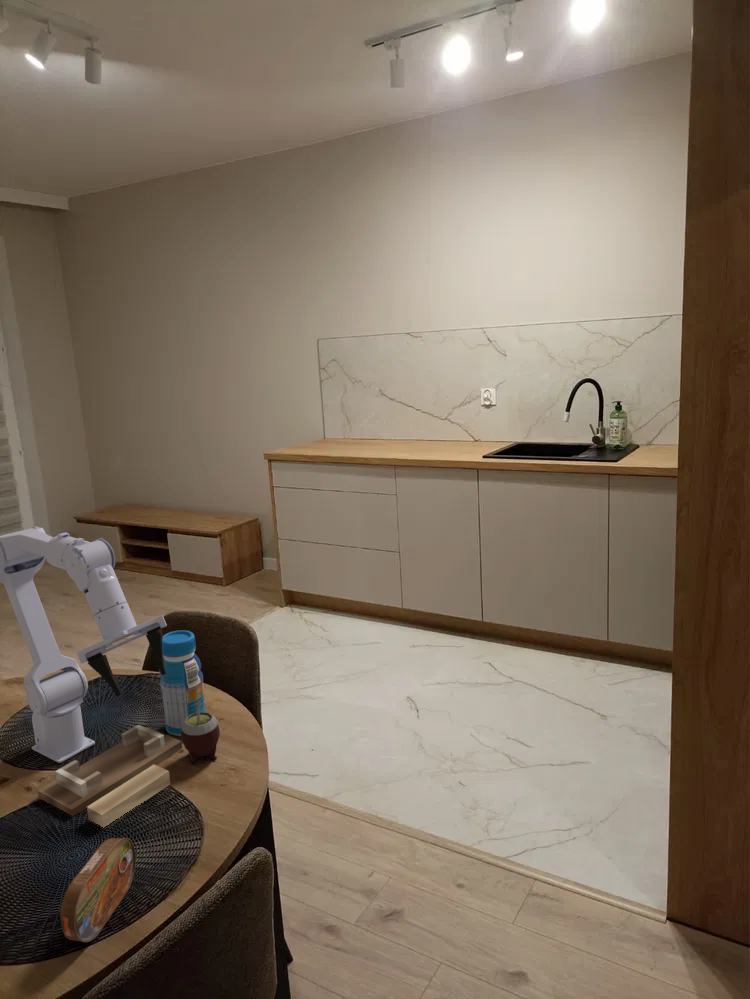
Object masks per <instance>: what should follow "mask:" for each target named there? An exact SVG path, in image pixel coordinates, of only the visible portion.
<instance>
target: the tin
mask: <svg viewBox="0 0 750 999" xmlns="http://www.w3.org/2000/svg"><path fill="white" fill-rule="evenodd" d="M136 855H137V854H136V847H135V845H134V843H133V840H132V839H130V838H127V837H122V838H119V837H117V838H116V837H114V838H113V837H111V838H108V839H106V840H104V841H103V842H101V844H100V845H99V847H98V848H97V849H96V850H95V852H94V853H93V854H92V855H91V856H90V858H89V859H88V860H87V861H86V863H85V864H84V866H82V868H81V870H79V871H78V873H77V874H76V875H75V877H74V878H73V879H72V880H71V882H70V883H69V885H68V887H67V888H66V891H65V892H64V896H63V898H62V902H61V906H60V913H59V916H60V923H61V924H60V925H61V930H62V932H63V935H64V937H65V938H66V939H68V940H71V941H78V942H82V943H90V942H92V941H93V940H95V939H96V938H97V937H98V936H99V934H100V933H101V931H102V930H103V929H104V926H105V925H106V924H107V922H108V921H109V919H110V918H111V916H112V915H113V914H114V912H115V911H116V909H117V907H118V906H119V905H120V903H121V902H122V900H123V899H124V897H125V896H126V895H127V893H128V892H129V889H130V887H131V885H132V882H133V880H134V876H135V871H136V866H137V865H136V862H137V856H136Z"/></svg>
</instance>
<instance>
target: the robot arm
mask: <svg viewBox="0 0 750 999" xmlns="http://www.w3.org/2000/svg"><path fill="white" fill-rule="evenodd" d="M115 555H116V554H115V551H114V548H113V547H112V546H111V544H110V542H108V541H107V540H106V539H104V538H101V537H100V538H97V539H95V540H94V541H91V542H90V541H87V540H85V539H84V538H81V537H78V538H77V537H73V536H70V533H68V532H61V533H58V534H57V535H56V536H51V535H49V534H46V531H45V529H44V528H43V527H39V526H32V527H31V528H28V529H27V528H26V529H23V530H22V529H21V530H18V531H15V532H10V533H6V534H2V535H0V584H3V585H4V589H5V590H6V593H7V596H8V600H10V604H11V606H12V609H13V612H14V614H15V617H16V620H17V624H18V625H19V628H20V630H21V631H20V632H21V634H22V637H23V639H24V642H25V644H26V647H27V650H28V652H29V655H30V658H31V660H32V666H31V667H30V669H29V671H28V672H27V674H26V675H25V677H24V678H23V685H24V689H25V697H26V700H27V701H26V702H27V704H28V706H29V708H30V710H31V711H32V716H31V722H32V728H33V734H34V741H35V742H34V743H35V744H34V745H33V746H31V750H33V751H34V752H37V753H38V754H40V755H43V756H44V757H46V758H48V759H50V760H52V761H54V762H56V763H58V764H60V763H63V762H65V761H66V760H68V759H70V758H72V757H74V756H75V755H78V754H79V753H81V752H83V751H84V750H86V749H88V748H90V747H92V746H94V745H95V744H96V742H95V740H93V739H91V738H89V737H87V736H85V731H84V725H83V724H84V723H83V717H82V711H81V704H82V703H84V697H86V695H87V693H88V689H89V685H88V684H89V683H88V680H87V677H86V675H85V672H83V670H82V669H81V667H80V666H79V664H78V663H79V662H80V664H85V663H86V662H87V664H88V665H89V666H90V667H91V668H92V669H93V670H94V671H96V672H97V673H98V674H99V675H100V677H101V678H103V679H104V681H105V682H106V683H107V684H108V686H110V688H111V690H112V691H113V693H114V694H115V697H119V696H120V695H122V691H121V687H120V686H119V684H118V682H117V680H116V678H115V676H114V674H113V671H112V669H111V666H110V663H109V660H108V657H107V654H106V653H108V652H111V651H113V650H115V649H117V648H120V647H122V646H124V645H126V644H128V643H131V642H133V641H135V640H138V639H140V638H143V637H146V639H147V641H148V643H149V646H150V648H151V650H152V653H153V654H154V657H155V659H156V663H157V664H156V665H157V666H158V669H159V670H160V672H161V674H162V675H164V674H166V670H165V666H164V661H163V658H164V656H163V652H162V636H163V635H164V634H163V630H162V629H163V628H165V627H167V626H168V624H167V623H166V619H165V618H164V615H162V614H161V615H159V616H157V617H154V618H152V619H149V620H148V621H145V622H143V623H139V624H137V622H136V620H135V617H134V615H133V613H132V610H131V609H130V606H129V603H128V601H127V598H126V596H125V593H124V592H123V589H122V587H121V584H120V582H119V579H118V577H117V575H116V572H115V571H114V568H115V565H116V556H115ZM45 561H46V562H47V563H49V565H51V566H52V567H56V568H59V569H62V570H64V571H66V572H67V574H68V576H69V577H70V579H71V580H73V581H74V583H75V585H76V588H77V590H79V592H83V595H84V597H85V600H86V602H87V603H88V606H89V609H90V611H91V613H92V616H93V618H94V622H95V624H96V626H97V628H98V630H99V633H100V635H101V638H102V640H101V641H98V642H97V643H95V644H93V645H91V646H87V647H85V648H84V649H81V650H78V651H77V652H76V654H77V657H78V660H79V662H78V661H77V660H76V659H75V658H73V657H70V656H66V655H63V654H61V652H60V649H59V646H58V644H57V643H58V642H57V641H56V639H55V635H54V632H53V630H52V628H51V625H50V622H49V619H48V617H47V615H46V611H45V609H44V606H43V603H42V601H41V598H40V596H39V593H38V590H37V588H36V585H35V582H34V578H35V577H34V576H35V574H36V573H38V572H39V571H40V570H42V568H43V565H44V563H45ZM131 636H133V637H131ZM128 637H130V638H129V639H126V638H128ZM123 639H126V640H124V641H122V640H123ZM120 641H122V642H120ZM117 642H120V643H117ZM115 643H117V644H115ZM113 644H115V645H113ZM58 671H60V672H58ZM55 672H58V673H56V674H53V673H55ZM160 672H159V673H160ZM50 674H52V675H50ZM48 675H50V676H49V677H46V676H48ZM44 677H46V678H44ZM42 678H44V679H42Z"/></svg>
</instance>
